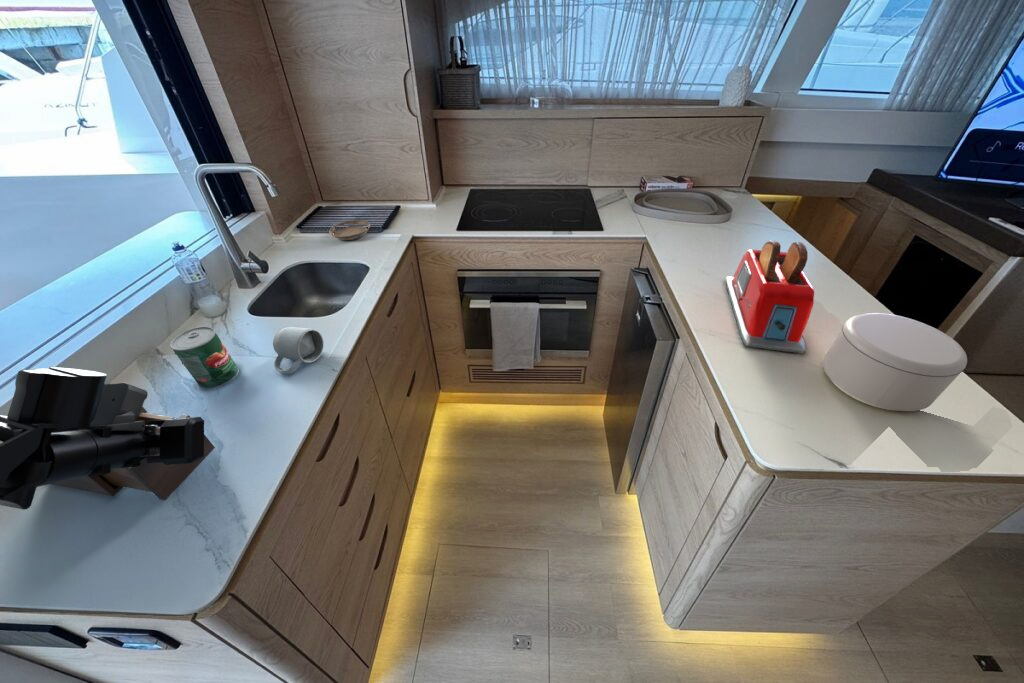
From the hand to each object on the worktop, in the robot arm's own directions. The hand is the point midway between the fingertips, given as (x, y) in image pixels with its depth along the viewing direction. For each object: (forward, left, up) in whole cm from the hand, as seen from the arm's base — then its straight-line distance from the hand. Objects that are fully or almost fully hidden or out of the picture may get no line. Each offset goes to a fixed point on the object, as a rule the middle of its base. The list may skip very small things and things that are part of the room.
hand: (180, 435), depth 63 cm
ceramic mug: (+29, +1, -9) cm, 30 cm away
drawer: (-2, +5, -8) cm, 10 cm away
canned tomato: (+21, +16, -9) cm, 28 cm away
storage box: (-2, +18, -9) cm, 20 cm away
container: (+41, -121, -9) cm, 128 cm away
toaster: (+64, -106, -9) cm, 125 cm away
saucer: (+98, +26, -9) cm, 102 cm away
